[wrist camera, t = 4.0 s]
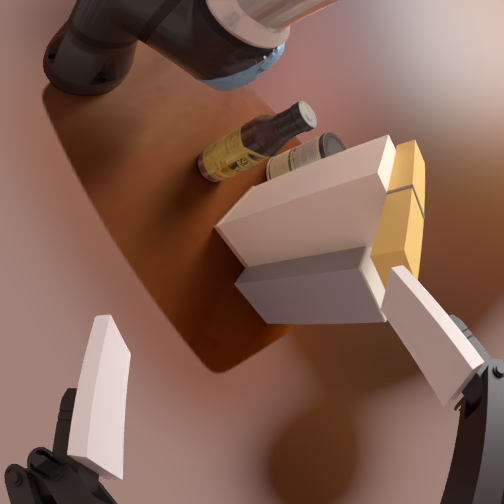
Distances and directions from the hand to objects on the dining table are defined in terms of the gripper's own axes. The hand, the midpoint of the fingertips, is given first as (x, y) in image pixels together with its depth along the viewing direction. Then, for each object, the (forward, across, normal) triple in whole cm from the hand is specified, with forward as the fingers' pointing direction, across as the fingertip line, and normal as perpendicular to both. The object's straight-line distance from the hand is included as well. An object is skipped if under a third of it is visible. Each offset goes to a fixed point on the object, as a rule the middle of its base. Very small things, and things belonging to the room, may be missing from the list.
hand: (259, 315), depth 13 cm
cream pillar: (+36, +5, -15) cm, 40 cm away
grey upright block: (+32, +7, -23) cm, 40 cm away
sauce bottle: (+39, 0, -4) cm, 40 cm away
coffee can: (+48, +14, -11) cm, 52 cm away
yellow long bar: (+16, +19, -3) cm, 25 cm away
